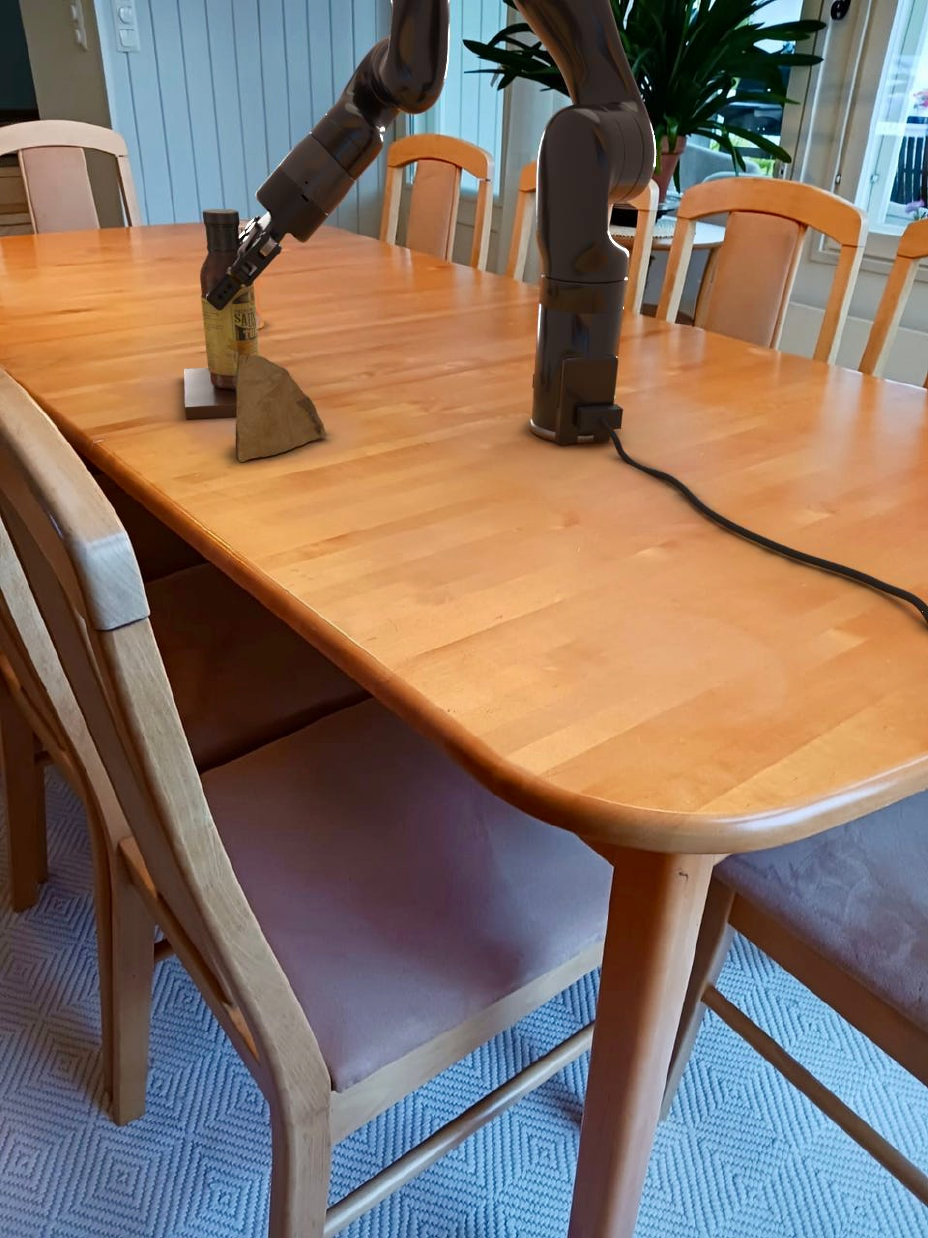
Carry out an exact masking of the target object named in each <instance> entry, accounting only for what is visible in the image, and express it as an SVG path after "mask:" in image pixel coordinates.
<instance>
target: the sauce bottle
mask: <svg viewBox="0 0 928 1238" xmlns="http://www.w3.org/2000/svg"><path fill="white" fill-rule="evenodd" d="M202 221H203V225H204V226H205V236H206V250H207V255H206V258H205V259H204V261H203V263H202V266H201V268H200V271H199V272H200V273H199V281H200V290H201V291H200V292H201V295H200V301H201V311H202V321H203V331H204V339H205V340H204V341H205V351H206V361H207V363H206V364H207V368H208V370H209V372H210V379H211V383H212V384H213V385H214V386H215V387H218V388H223V389H236V373H237V366H238V356H239V355H245V356H248V355H258V356H260V346H259V345H260V344H259V334H258V332H259V331H258V329H257V319H256V306H255V291H254V282H253V284H252V285H251V286H249V287H244V288H242V287H241V286H240V287H241V289H240V290H239V291H238V292H237V293H236V295H235V296H234V297H233V298H232V299H231V300H230V301H229V303H228V304H227V305H226V306H225V307H224V308H223V309H222V310H220V311H219V310H217V309H216V308H214V307H213V306H212V305H211V304H210V303H209V302H208V301H207V299H206V296H207V294H208V293H209V292H210V290H211V289H212V288H213V287H214V286H215V285H216V283H217V282H218V281H219V280H220V279H221V278H222V277H223V275H224V274H225V273H226V271H227V268H228V267H229V266H231V264H232V263H233V262H234V260H235V257H234V252H235V251H236V250H237V248H238V247H239V245H240V241H239V229H238V227H239V223H240V221H241V220H240V214H239V211H238V210H237V209H231V208H211V209H210V208H209V209H204V210H202ZM241 268H242V269H243V270H245V271H246V272H247V273H248V272H249V271H248V269H247V268H246V267H245V266H244V265H243V266H242V267H241Z"/></svg>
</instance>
